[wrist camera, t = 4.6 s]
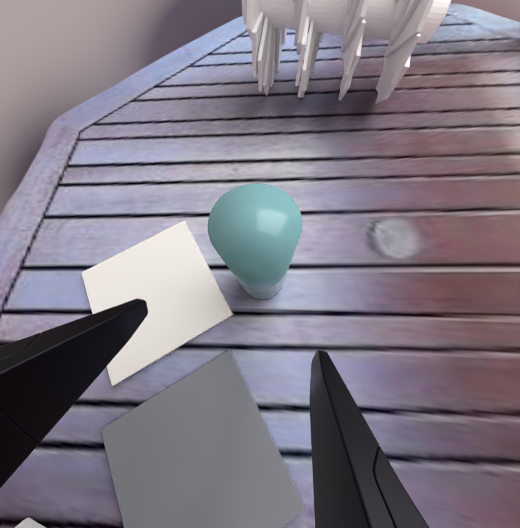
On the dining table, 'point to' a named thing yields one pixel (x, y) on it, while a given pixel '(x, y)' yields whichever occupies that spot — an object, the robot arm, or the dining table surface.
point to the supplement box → (29, 524)
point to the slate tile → (200, 457)
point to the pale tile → (158, 296)
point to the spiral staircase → (342, 23)
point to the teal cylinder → (256, 235)
